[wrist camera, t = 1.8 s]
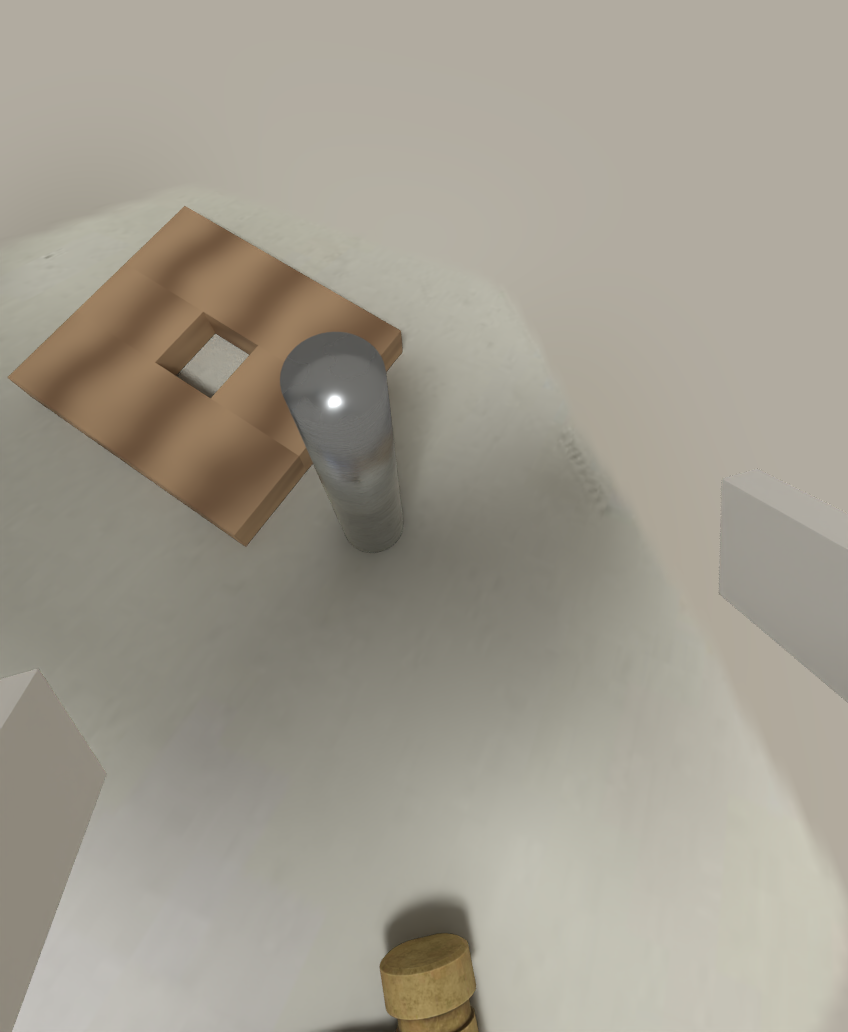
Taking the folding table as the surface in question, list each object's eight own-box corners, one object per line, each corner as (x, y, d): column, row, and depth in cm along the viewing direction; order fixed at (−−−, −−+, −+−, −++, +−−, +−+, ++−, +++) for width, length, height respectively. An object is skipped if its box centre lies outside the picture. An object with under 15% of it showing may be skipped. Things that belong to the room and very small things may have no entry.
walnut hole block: (30, 396, 43) (7, 377, 40) (196, 231, 47) (184, 206, 45) (245, 546, 39) (233, 535, 36) (402, 352, 44) (401, 330, 41)
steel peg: (331, 531, 39) (258, 389, 22) (366, 484, 40) (322, 314, 23) (380, 564, 38) (343, 443, 21) (415, 516, 40) (406, 364, 22)
